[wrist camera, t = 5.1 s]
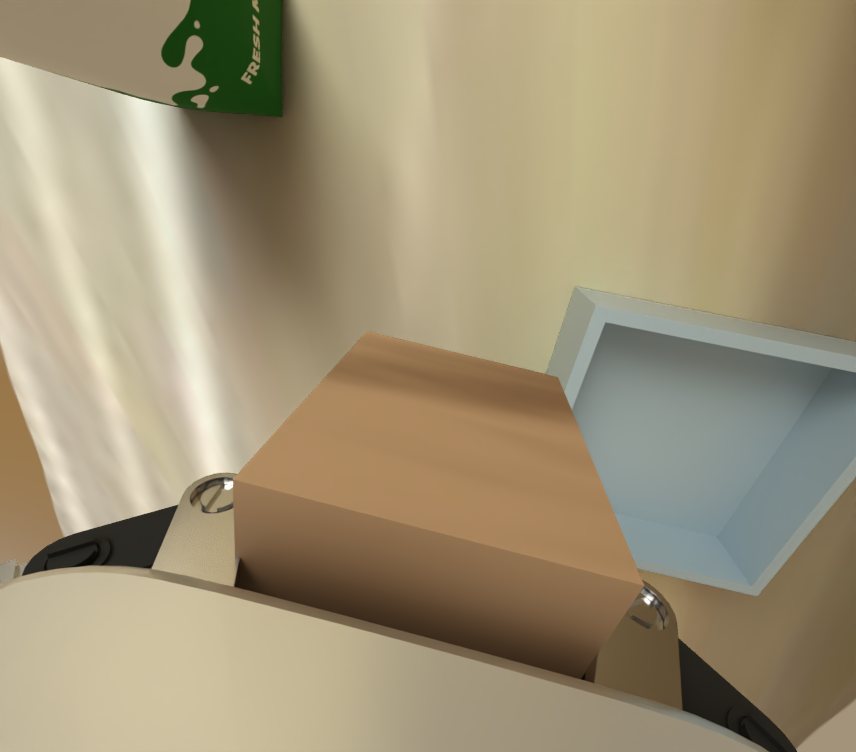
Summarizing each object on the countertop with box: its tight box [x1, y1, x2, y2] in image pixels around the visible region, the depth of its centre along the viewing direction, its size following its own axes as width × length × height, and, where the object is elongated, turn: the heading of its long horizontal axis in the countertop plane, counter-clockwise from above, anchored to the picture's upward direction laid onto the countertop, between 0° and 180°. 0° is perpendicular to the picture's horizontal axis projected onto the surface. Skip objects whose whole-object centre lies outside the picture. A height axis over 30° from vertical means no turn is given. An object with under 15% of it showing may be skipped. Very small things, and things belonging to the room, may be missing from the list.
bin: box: [546, 286, 856, 596], centre depth 27 cm, size 18×18×5 cm
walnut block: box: [233, 331, 644, 679], centre depth 10 cm, size 6×6×7 cm
